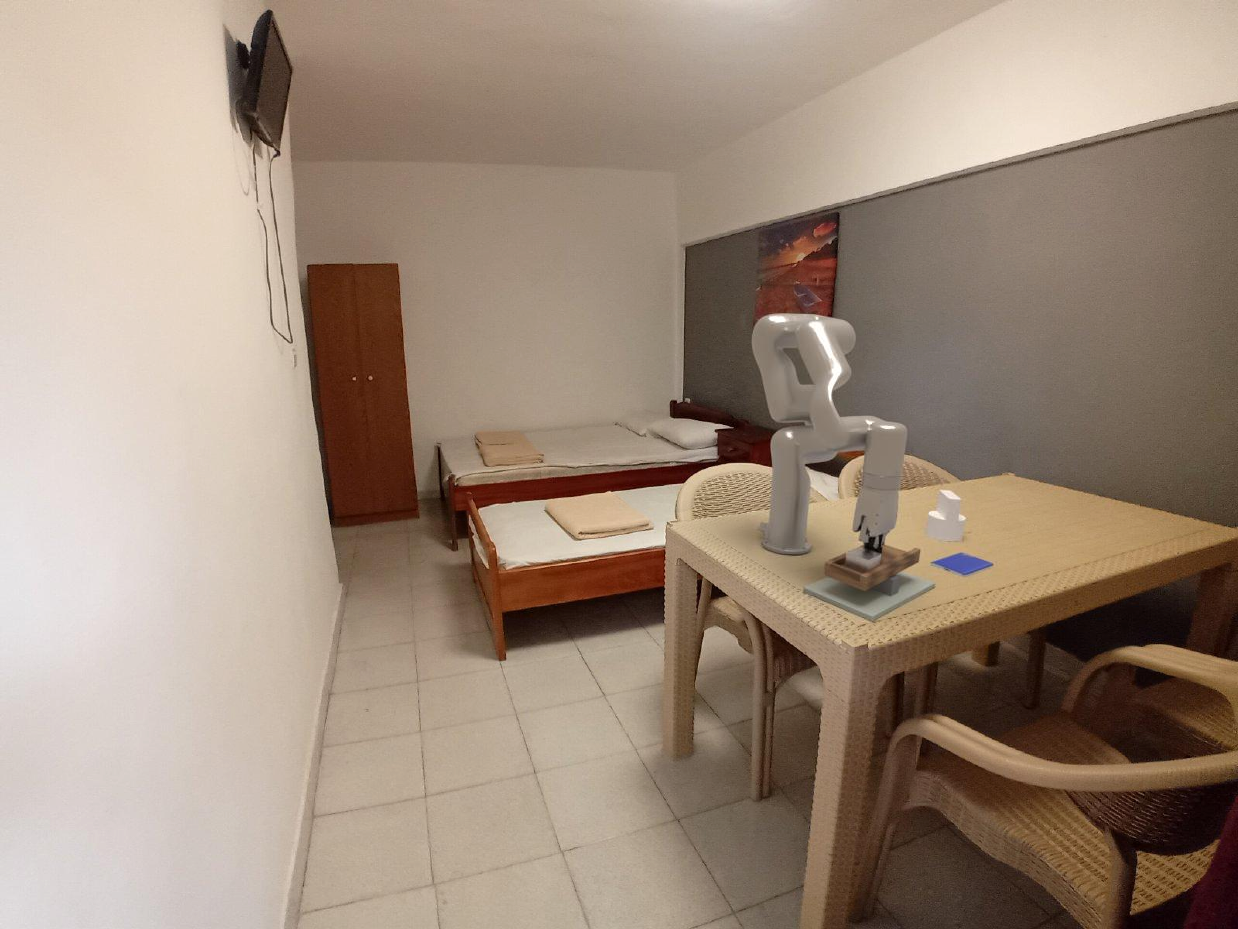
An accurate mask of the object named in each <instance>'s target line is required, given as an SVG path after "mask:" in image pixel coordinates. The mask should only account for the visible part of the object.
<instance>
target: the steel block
mask: <svg viewBox="0 0 1238 929" xmlns="http://www.w3.org/2000/svg"><path fill="white" fill-rule="evenodd" d="M845 553H846V552H845ZM880 562H881V553H877V552H874V551H871V550H868V549H865V548H862V547H860V546H857V547H855V548H853V549H851V550H849V552H848V551H847V553H846V560H845V567H846V568H849V569H851V570H854V571H857V572H859V573H862V574H864V573H866V572H868V571H870V570H872V569H874V568H876V567H878V566H880Z"/></svg>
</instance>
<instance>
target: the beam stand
mask: <svg viewBox="0 0 1238 929" xmlns="http://www.w3.org/2000/svg"><path fill="white" fill-rule="evenodd" d="M935 587H936V582H935V581H931V580H929V579H926V578H922V577H919V576H916V575H914V574H911V573H908V572H905V571H901V572H899V573H897V574H896V575H894V576H892V577H890V578H888V579H886V580H884V581H882V582H881V583H879V584H877V585H875V586H873V587H871V588H869V589H867V590H866V591H863V590H861V589H858V588H856V587H853V586H851V585H848V584H846V583H843V582H840V581H838V580H835V579H833V578H830V577H828V576H826V577H824V578H822V579H821V580H819V581H815V582H813V583H811V584H808V585H806V586H804V587H803V590H802V592H803V593H804V594H808V595H810V596H812V597H813V598H816V599H819V600H822V601H824V602H825V603H826V602H827V603H828V604H831V605H833V606H836V607H837V608H839V609H843V610H845V611H847V612H850V613H851V614H854V615H855V616H856V615H857V616H859V617H861V618H862V619H865V620H868V621H870V622H873V621H875V620H877V619H879V618H881V617H883V616H884V615H886V614H888V613H890V612H892V611H893V610H895V609H897V608H899V607H901V606H903V605H905V604H907V603H909V602H910V601H912V600H914V599H916V598H918V597H919V596H921V595H923V594H924V593H927V592H928V591H930V590H932V589H934V588H935Z"/></svg>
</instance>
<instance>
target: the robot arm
mask: <svg viewBox="0 0 1238 929" xmlns="http://www.w3.org/2000/svg"><path fill="white" fill-rule="evenodd" d="M856 340H857V336H856V331H855V330H854V327H853V326H852V325H851V324H850V323H849V322H848V321H846V320H844V319H840V318H835V317H830V316H825V315H820V314H813V313H785V312H784V313H780V312H779V313H771V314H767V315H764V316H762V317H761V318H760V319H758V321H757V322H756V323H755V325H754V328H753V331H752V334H751V347H752V353H753V357H754V359H755V361H756V364H757V366H758V369H759V371H760V375H761V379H762V384H763V388H764V393H765V399H766V402H767V408H768V411H769V414H770V417H771V418H772V420H774V421H775V422H777V423H783V424H784V423H785V424H788V423H804V425H797V426H796V425H795V426H787V427H783V428H781V429H779V430H777V431H776V432H775V433H774V434H773V435H772V437H771V440H770V453H771V454H770V455H771V464H772V465H771V467H772V469H771V470H772V473H771V488H770V490H771V491H770V501H769V502H770V503H769V504H770V506H769V515H768V516H769V517H768V522H765V521H760V522H759V525H758V527H757V531H758V532H762V533H764V535H763V537H762V538H761V542H760V543H761V546H762V547H763V548H765V549H767V550H768V551H770V552H773V553H777V554H782V555H791V556H793V555H794V556H796V555H804V554H806V553H809V552H810V551H811V550H812V543H811V542H810V540H808V539H806V537H807V529H808V527H807V526H808V516H809V506H810V497H811V496H810V495H811V484H812V483H811V477H810V475H809V473H808V470H807V468H806V464H807V465H808V464H815V463H821V462H828V461H830V460H832V459H834V458H835V457H836V456H837V454H838V453H846V452H856V451H857V452H859V451H860V452H861V451H864V457H863V465H862V466H863V467H862V476H861V483H860V484H861V487H860V490H859V492H858V496H857V500H856V504H855V509H854V514H853V515H854V516H853V522H852V531H853V532H855V533H859V534H858V535H859V536H858V541H860V542H862V545H864V548H865V549H868V550H871V551H874V552H877V553H881V556H882V548H883V547H881V546H883V545H884V542H885V543H886V537H887V535H888V534H889V533H890V532H891V531H892V530H893V529H895V528H896V524H897V520H898V514H899V513H898V511H899V492H900V491H901V486H902V485H901V484H902V477H903V470H904V462H905V456H906V455H905V452H906V445H907V438H908V429H907V427H906V425H904V424H902V423H900V422H895V421H886V420H884V419H881V418H879V417H877V416H873V415H851V416H840V415H839V413H838V411H837V408H836V407H835V404H834V400H833V392H834V391H835V390H837V389H839V388H841V387H842V386H843V385H845V384H846V383H847V382H848V381H849V380H850V378H851V377H852V369H851V366H850V364H849V363H848V361H847V358H846V356H845V355H847V354H848V353H851V351H852V350H853V349H854V347H855V345H856ZM783 349H798V353H799V355H800V357H801V360H802V361H803V363H804V365H805V368H806V370H807V373H808V374H809V377H810V379H811V381H812V382H813V384H801V383H800V381H799V380H798V375H797V369H796V366H795V365H794V362H793V361H792V360H791V358H790V357H789V356H788V355H787V354H786V353H785V352H784V350H783ZM880 563H881V562H880Z"/></svg>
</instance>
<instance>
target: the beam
mask: <svg viewBox="0 0 1238 929" xmlns="http://www.w3.org/2000/svg"><path fill="white" fill-rule="evenodd" d="M859 547H862V548H864V544H862V545H860V546H859ZM881 547H883V548H882V556H881V563H880V566H878V567H876V568H874V569H872V570H870V571H868V572H866V573H864V574H862V573H859V572H857V571H854V570H851V569H849V568H846V567H845V560H846V553H847V552H849V551H850V550H849V551H847V552H845V553H842V554H840V555H837V556H836V557H834V558H831V559H829V560H827V561H824V569H823V576H825V577H830V578H833V579H835V580H838V581H840V582H843V583H846V584H848V585H851V586H853V587H856V588H858V589H861V590H863V591H866V590H867V589H869V588H871V587H873V586H875V585H877V584H879V583H881V582H882V581H884V580H886V579H888V578H890V577H892V576H894V575H896V574H897V573H899V572H901V571H902V572H904V570H906V569H908V568H910V567H913V566H914V565H916V564H918V563H920V556H921V549H920V548H917V547H915V548H914V547H913V548H912V549H910V550H908V551H906V550H902V549H899V548H896V547H894V546H891V545H887V544H886V541H885V542H884V545H883V546H881Z"/></svg>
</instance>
